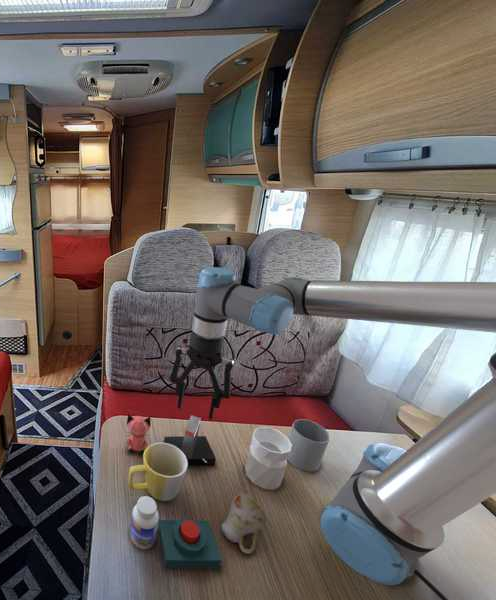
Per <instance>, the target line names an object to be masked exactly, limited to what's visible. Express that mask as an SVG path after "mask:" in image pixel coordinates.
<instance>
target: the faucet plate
mask: <svg viewBox="0 0 496 600" xmlns="http://www.w3.org/2000/svg"><path fill="white" fill-rule="evenodd" d="M183 438H184V435H183V436H181V435H180V436H178V435H177V436H164V438H163V443H168V444H171V445H174V446H176V447H177V448H179V449H180V450H181V451H182V445H183ZM216 460H217V458H216V455H215V454H214V452H213V449H212V447H211V445H210V443H209V440H208V438H207V436H206V435H200V436H199V435H198V437H197V441H196V444H195V447H194V450H193V453H192V457H191V459H189V458H187V461H188V467H209V466H211V467H214V466H215V465H216Z"/></svg>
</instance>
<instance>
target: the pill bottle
mask: <svg viewBox="0 0 496 600" xmlns="http://www.w3.org/2000/svg"><path fill="white" fill-rule="evenodd" d="M157 508H158V507H157V503H156V501H155V499H154V498H153V497H150V496H148V495H143V496H141V497H139V498H138V499H137V502H136V504H135V505H134V507H133V509H132V514H131V522H130V523H131V524H130V539H131V541H132V542H133V544H134V545H135V546H136V547H138V548H139V549H142V550H145V549H150V548H152V547H153V545H154V544H155V542H156V539H157V532H158V520H160V518H159V517H160V516H159V512H158V510H157Z"/></svg>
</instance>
